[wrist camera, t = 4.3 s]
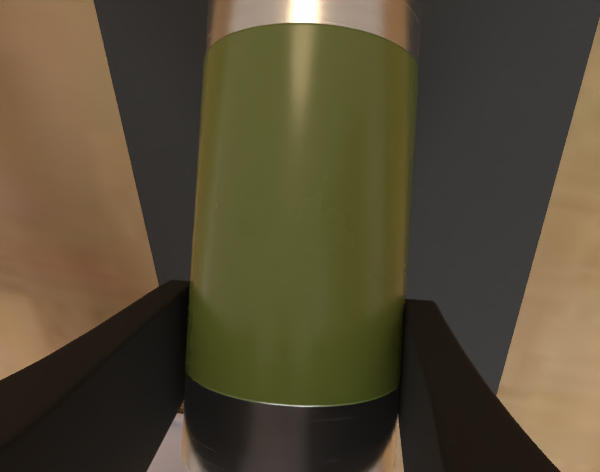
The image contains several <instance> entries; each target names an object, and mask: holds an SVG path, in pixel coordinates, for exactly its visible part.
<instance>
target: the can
mask: <svg viewBox="0 0 600 472" xmlns="http://www.w3.org/2000/svg"><path fill="white" fill-rule="evenodd" d="M421 2H422V0H209V5H208V21H207V38H206V54H205V57H204V63H203V80H202V96H201V112H200V128H199V145H198V161H197V177H196V193H195V210H194V226H193V242H192V258H191V274H190V291H189V307H188V323H187V339H186V356H185V369H186V379H185V395H184V411H183V427H182V443H181V454H182V458H183V461H184V464H185V466H186V467H187V469H188V470H189V472H393V469H394V465H395V452H396V434H397V417H398V400H399V383H400V381H401V366H402V349H403V332H404V315H405V300H406V287H407V269H408V252H409V235H410V217H411V200H412V183H413V166H414V148H415V131H416V114H417V96H418V79H419V70H418V54H419V37H420V20H421Z"/></svg>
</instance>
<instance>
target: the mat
mask: <svg viewBox="0 0 600 472" xmlns="http://www.w3.org/2000/svg"><path fill="white" fill-rule="evenodd" d="M94 4H95V8H96V13H97V17H98V21H99V26H100V30H101V34H102V39H103V43H104V47H105V52H106V56H107V60H108V65H109V69H110V73H111V78H112V82H113V86H114V91H115V95H116V100H117V104H118V108H119V113H120V117H121V121H122V126H123V130H124V134H125V139H126V143H127V147H128V152H129V156H130V160H131V165H132V169H133V173H134V178H135V182H136V187H137V191H138V195H139V200H140V204H141V208H142V213H143V217H144V221H145V226H146V230H147V234H148V239H149V243H150V247H151V252H152V256H153V260H154V265H155V269H156V273H157V278H158V282H159V286H161V285H162V284H164V283H166V282H168V281H170V280H182V281H190V274H191V258H192V242H193V226H194V210H195V193H196V177H197V161H198V145H199V128H200V112H201V96H202V80H203V63H204V57H205V54H206V38H207V21H208V5H209V0H94ZM599 17H600V0H422V2H421V20H420V37H419V54H418V70H419V79H418V96H417V114H416V131H415V148H414V166H413V183H412V200H411V217H410V235H409V252H408V269H407V287H406V299H417V300H429V301H434V302H435V303H436V304H437V305H438V307H439V309H440V311H441V313H442V315H443V316H444V318H445V320H446V322H447V324H448V325H449V327H450V329H451V330H452V332H453V334H454V335H455V337H456V339H457V340H458V342H459V344H460V345H461V347H462V348H463V350H464V351H465V353H466V354H467V356H468V357H469V359H470V360H471V362H472V363H473V365H474V366H475V367H476V369H477V370H478V372H479V373H480V375H481V376H482V378H483V379H484V380H485V382H486V383H487V385H488V386H489V387H490V389H491V390H492V391H493V393H494V394H495V395H496V394H497V390H498V387H499V383H500V379H501V376H502V372H503V369H504V365H505V361H506V358H507V354H508V350H509V347H510V343H511V339H512V336H513V332H514V328H515V325H516V321H517V317H518V314H519V310H520V306H521V303H522V299H523V295H524V292H525V288H526V284H527V281H528V277H529V273H530V270H531V266H532V262H533V259H534V255H535V251H536V248H537V244H538V240H539V237H540V233H541V229H542V226H543V222H544V218H545V215H546V211H547V208H548V204H549V200H550V197H551V193H552V189H553V186H554V182H555V178H556V175H557V171H558V167H559V164H560V160H561V156H562V153H563V149H564V145H565V142H566V138H567V134H568V131H569V127H570V123H571V120H572V116H573V112H574V109H575V105H576V101H577V98H578V94H579V90H580V87H581V83H582V79H583V76H584V72H585V68H586V65H587V61H588V58H589V54H590V50H591V47H592V43H593V39H594V36H595V32H596V28H597V25H598V21H599Z"/></svg>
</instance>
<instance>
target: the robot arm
mask: <svg viewBox="0 0 600 472" xmlns="http://www.w3.org/2000/svg"><path fill="white" fill-rule="evenodd" d="M189 291H190V281H182V280H170V281H168V282H166V283H164V284H162V285H161V286H159V287H158V288H156V289H154V290H153V291H151V292H150V293H148V294H147V295H145V296H143V297H142V298H140V299H139V300H137V301H136V302H134V303H133V304H131V305H130V306H128V307H127V308H125V309H123V310H122V311H120V312H119V313H117V314H116V315H114V316H113V317H111V318H109V319H108V320H106V321H105V322H103V323H102V324H100V325H99V326H97V327H95V328H94V329H92V330H90V331H89V332H87V333H85V334H84V335H82V336H80V337H79V338H77V339H75V340H74V341H72V342H70V343H69V344H67V345H65V346H64V347H62V348H60V349H58V350H57V351H55V352H53V353H52V354H50V355H48V356H46V357H45V358H43V359H41V360H39V361H37V362H35V363H34V364H32V365H30V366H28V367H26V368H24V369H22V370H20V371H18V372H16V373H14V374H12V375H10V376H8V377H6V378H4V379H2V380H0V472H189V470H188V469H187V467H186V466H185V464H184V461H183V458H182V454H181V443H182V427H183V414H180V413H178V411H179V409H180V407H181V405H182V403H183V401H184V395H185V379H186V369H185V356H186V339H187V323H188V307H189ZM398 419H399V428H400V437H401V447H402V456H403V465H404V472H560V471H559V469H558V468H557V467H556V466H555V465H554V464H553V463H552V462H551V461H550V460H549V459H548V458H547V457H546V455H545V454H544V453H543V452H542V451H541V450H540V449H539V448H538V446H537V445H536V444H535V443H534V442H533V441H532V440H531V439H530V437H529V436H528V435H527V434H526V433H525V432H524V430H523V429H522V428H521V427H520V426H519V424H518V423H517V422H516V421H515V419H514V418H513V417H512V416H511V415H510V413H509V412H508V411H507V409H506V408H505V407H504V406H503V404H502V403H501V402H500V400H499V399H498V398H497V397H496V395H495V394H494V393H493V391H492V390H491V389H490V387H489V386H488V385H487V383H486V382H485V380H484V379H483V378H482V376H481V375H480V373H479V372H478V370H477V369H476V367H475V366H474V365H473V363H472V362H471V360H470V359H469V357H468V356H467V354H466V353H465V351H464V350H463V348H462V347H461V345H460V344H459V342H458V340H457V339H456V337H455V335H454V334H453V332H452V330H451V329H450V327H449V325H448V324H447V322H446V320H445V318H444V316H443V315H442V313H441V311H440V309H439V307H438V305H437V304H436V303H435V302H434V301H429V300H417V299H406V300H405V315H404V332H403V349H402V366H401V381H400V383H399V400H398Z"/></svg>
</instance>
